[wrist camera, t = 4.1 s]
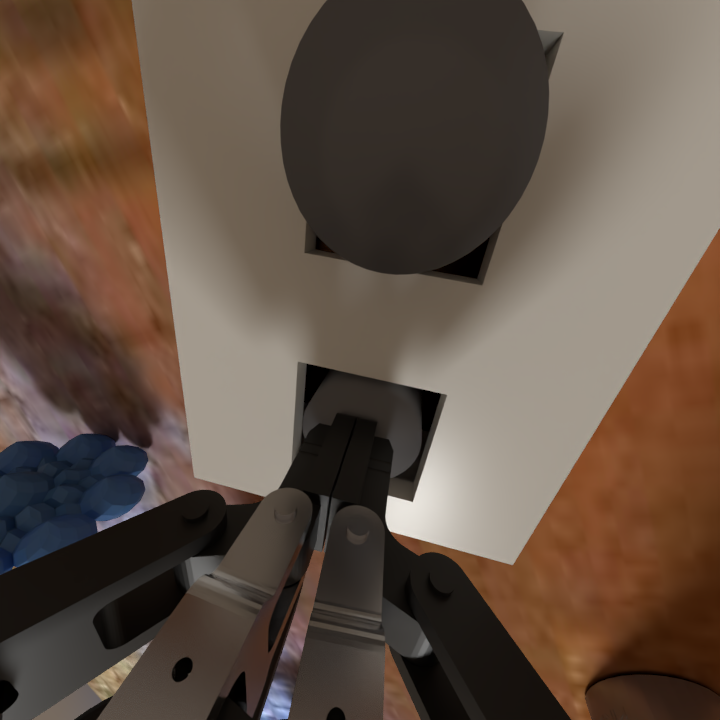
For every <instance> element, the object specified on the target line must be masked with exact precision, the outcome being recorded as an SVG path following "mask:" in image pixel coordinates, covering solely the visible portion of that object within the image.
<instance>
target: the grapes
mask: <svg viewBox="0 0 720 720" xmlns="http://www.w3.org/2000/svg"><path fill="white" fill-rule="evenodd" d="M147 462H148V457H147V453H146V452H145V451H144V450H142V449H141V448H139V447H135V446H129V445H122V446H116V445H115V441H114V440H113V439H111V438H110V437H108V436H107V435H101V434H80V435H78V436H76V437H74V438H73V439H71V440H69V441H68V442H67V443H66V444H64V445H63V446H62V447H61V448H60V449H59V448H58V447H56V446H54V445H53V444H51V443H49V442H42V441H20V442H16V443H14V444H12V445H10V446H9V447H7V448H6V449H5V450H3V451H2V452H1V453H0V575H1V574H3V573H6V572H8V571H10V570H12V568H13V566H15V567H19V566H22V565H24V564H26V563H29V562H31V561H33V560H36V559H38V558H40V557H43V556H45V555H47V554H49V553H52V552H54V551H56V550H59V549H61V548H63V547H66V546H68V545H70V544H72V543H75V542H77V541H79V540H82V539H84V538H86V537H89V536H91V535H93V534H96V533H97V532H98V531H97V526H96V521H108V520H111V519H115V518H118V517H120V516H122V515H124V514H125V513H127V512H129V511H130V510H131V509H132V508H133V507H134V506H135V505H136V504H137V503H138V502H139V501H140V500H141V498H142V496H143V494H144V492H145V487H144V483H143V480H141V479H139V478H138V477H136V476H138V475H139V474H140V473H141V472H142V471H143V470H144V468H145V466H146V464H147Z"/></svg>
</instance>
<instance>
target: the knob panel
mask: <svg viewBox="0 0 720 720" xmlns="http://www.w3.org/2000/svg"><path fill="white" fill-rule="evenodd" d="M326 1H327V0H132V6H133V14H134V22H135V29H136V37H137V44H138V52H139V60H140V67H141V75H142V82H143V90H144V98H145V105H146V113H147V120H148V128H149V136H150V143H151V151H152V159H153V166H154V174H155V181H156V189H157V197H158V204H159V212H160V219H161V227H162V235H163V242H164V250H165V257H166V265H167V273H168V280H169V288H170V296H171V303H172V311H173V318H174V326H175V334H176V341H177V349H178V356H179V364H180V372H181V379H182V387H183V394H184V402H185V410H186V417H187V425H188V433H189V440H190V448H191V455H192V463H193V471H194V477H195V478H198V479H202V480H206V481H209V482H213V483H217V484H220V485H224V486H227V487H231V488H235V489H238V490H242V491H246V492H249V493H253V494H257V495H260V496H264V497H266V496H267V495H268V494H270V493H271V492H273V491H275V490H278V488H279V487H280V485H281V483H282V481H283V480H284V478H285V476H286V474H287V472H288V470H289V468H290V466H291V464H292V463H293V461H294V459H295V457H296V455H297V453H298V452H299V449H300V447H301V446H302V444H303V443H304V440H305V438H304V434H303V428H302V422H303V415H304V412H305V410H306V408H307V406H308V404H309V403H306V402H304V393H305V380H306V367H307V364H311V365H316V366H320V367H325V368H329V369H334V370H338V371H342V372H347V373H351V374H356V375H360V376H365V377H369V378H374V379H378V380H383V381H387V382H392V383H396V384H401V385H405V386H410V387H414V388H419V389H423V390H428V391H432V392H437V393H441V396H440V400H439V403H438V406H437V409H436V412H435V416H434V419H433V422H432V425H431V428H430V432H428V431H424V430H422V439H421V448H420V452H419V454H418V456H417V458H416V460H415V461H414V463H413V464H412V465H411V466H410V467H409V468H408V469H407V470H406V471H404V472H403V473H401V474H399V475H397V476H395V477H393V478H390V483H389V491H388V498H387V506H386V516H385V518H386V524H387V527H388V529H389V531H391V532H395V533H398V534H402V535H405V536H409V537H413V538H416V539H420V540H424V541H427V542H431V543H434V544H438V545H442V546H445V547H449V548H453V549H456V550H460V551H464V552H467V553H471V554H474V555H478V556H482V557H485V558H489V559H493V560H496V561H500V562H503V563H507V564H511V565H513V564H514V562H515V560H516V559H517V557H518V556H519V554H520V552H521V551H522V549H523V547H524V546H525V544H526V543H527V541H528V539H529V538H530V536H531V534H532V533H533V531H534V530H535V528H536V526H537V525H538V523H539V521H540V520H541V518H542V516H543V515H544V513H545V512H546V510H547V508H548V507H549V505H550V503H551V502H552V500H553V499H554V497H555V495H556V494H557V492H558V490H559V489H560V487H561V486H562V484H563V482H564V481H565V479H566V477H567V476H568V474H569V472H570V471H571V469H572V468H573V466H574V464H575V463H576V461H577V459H578V458H579V456H580V455H581V453H582V451H583V450H584V448H585V446H586V445H587V443H588V442H589V440H590V438H591V437H592V435H593V433H594V432H595V430H596V428H597V427H598V425H599V424H600V422H601V420H602V419H603V417H604V415H605V414H606V412H607V411H608V409H609V407H610V406H611V404H612V402H613V401H614V399H615V398H616V396H617V394H618V393H619V391H620V389H621V388H622V386H623V384H624V383H625V381H626V380H627V378H628V376H629V375H630V373H631V371H632V370H633V368H634V367H635V365H636V363H637V362H638V360H639V358H640V357H641V355H642V354H643V352H644V350H645V349H646V347H647V345H648V344H649V342H650V340H651V339H652V337H653V336H654V334H655V332H656V331H657V329H658V327H659V326H660V324H661V323H662V321H663V319H664V318H665V316H666V314H667V313H668V311H669V309H670V308H671V306H672V305H673V303H674V301H675V300H676V298H677V296H678V295H679V293H680V292H681V290H682V288H683V287H684V285H685V283H686V282H687V280H688V279H689V277H690V275H691V274H692V272H693V270H694V269H695V267H696V265H697V264H698V262H699V261H700V259H701V257H702V256H703V254H704V252H705V251H706V249H707V248H708V246H709V244H710V243H711V241H712V239H713V238H714V236H715V235H716V233H717V231H718V230H719V228H720V0H522V1H523V2H524V4H525V6H526V8H527V9H528V11H529V13H530V15H531V17H532V19H533V21H534V23H535V25H536V28H537V30H538V33H539V36H540V39H541V42H542V45H543V49H544V53H545V56H546V63H547V68H548V81H549V110H548V120H547V126H546V132H545V138H544V142H543V145H542V149H541V153H540V156H539V160H538V162H537V165H536V167H535V170H534V172H533V175H532V177H531V180H530V182H529V183H528V185H527V187H526V189H525V191H524V193H523V195H522V197H521V199H520V200H519V201H518V203H517V204H516V206H515V207H514V209H513V210H512V212H511V213H510V215H509V216H508V217H507V218H506V220H505V221H504V222H503V223H502V224H501V225H500V227H499V228H498V229H497V230H496V231H495V232H494V233H493V234H492V235H491V236H490V239H489V242H488V245H487V248H486V252H485V255H484V258H483V261H482V264H481V268H480V271H479V274H478V277H477V279H476V278H470V277H465V276H459V275H454V274H448V273H443V272H437V271H427V272H423V273H416V274H408V275H393V274H385V273H379V272H375V271H371V270H367V269H364V268H362V267H360V266H357V265H355V264H353V263H351V262H349V261H347V260H346V259H344V258H342V257H341V256H339V255H338V254H337V253H332V252H327V251H321V250H316V236H317V235H316V234H315V232H314V231H313V230H312V229H311V228H310V226H309V225H308V223H307V222H306V220H305V219H304V217H303V215H302V214H301V212H300V210H299V208H298V206H297V204H296V202H295V200H294V198H293V195H292V192H291V189H290V187H289V184H288V181H287V177H286V173H285V169H284V164H283V158H282V150H281V137H280V120H281V106H282V99H283V94H284V88H285V83H286V79H287V76H288V72H289V69H290V66H291V62H292V60H293V57H294V55H295V52H296V50H297V47H298V45H299V43H300V41H301V39H302V37H303V35H304V33H305V31H306V30H307V28H308V26H309V24H310V22H311V21H312V20H313V18H314V17H315V15H316V14H317V13H318V11H319V10H320V8H321V7H322V5H323V4H324V3H325V2H326Z"/></svg>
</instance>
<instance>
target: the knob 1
mask: <svg viewBox="0 0 720 720" xmlns="http://www.w3.org/2000/svg"><path fill="white" fill-rule="evenodd" d="M548 110H549V81H548V68H547V63H546V58H545V53H544V49H543V45H542V42H541V39H540V36H539V33H538V30H537V28H536V25H535V23H534V21H533V19H532V17H531V15H530V13H529V11H528V9H527V8H526V6H525V4H524V2H523V1H522V0H327V1H326V2H325V3H324V4H323V5H322V7H321V8H320V10H319V11H318V13H317V14H316V15H315V17H314V18H313V20H312V21H311V22H310V24H309V26H308V28H307V30H306V31H305V33H304V35H303V37H302V39H301V41H300V43H299V45H298V47H297V50H296V52H295V55H294V57H293V60H292V62H291V66H290V69H289V72H288V76H287V79H286V83H285V88H284V94H283V99H282V106H281V120H280V137H281V150H282V158H283V164H284V169H285V173H286V177H287V181H288V184H289V187H290V189H291V192H292V195H293V198H294V200H295V202H296V204H297V206H298V208H299V210H300V212H301V214H302V215H303V217H304V219H305V220H306V222H307V223H308V225H309V226H310V228H311V229H312V230H313V231H314V232H315V234H316V235H317V236H318V237H319V238H320V239H321V240H322V241H323V242H324V243H325V244H326V245H327V246H328V247H329V248H330V249H331V250H333V251H334V252H335V253H337V254H338V255H339V256H341V257H342V258H344V259H346V260H347V261H349V262H351V263H353V264H355V265H357V266H360V267H362V268H364V269H367V270H371V271H375V272H379V273H385V274H393V275H408V274H416V273H423V272H427V271H431V270H434V269H438V268H441V267H443V266H445V265H448V264H450V263H452V262H455V261H456V260H458V259H460V258H462V257H463V256H465V255H467V254H469V253H470V252H471V251H473V250H474V249H475V248H477V247H478V246H479V245H481V244H482V243H483V242H484V241H485V240H487V239H488V238H489V237H490V236H491V235H492V234H493V233H494V232H495V231H496V230H497V229H498V228H499V227H500V225H501V224H502V223H503V222H504V221H505V220H506V218H507V217H508V216H509V215H510V213H511V212H512V210H513V209H514V207H515V206H516V204H517V203H518V201H519V200H520V199H521V197H522V195H523V193H524V191H525V189H526V187H527V185H528V183H529V182H530V180H531V177H532V175H533V172H534V170H535V167H536V165H537V162H538V160H539V156H540V153H541V149H542V145H543V142H544V138H545V132H546V126H547V120H548Z"/></svg>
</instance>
